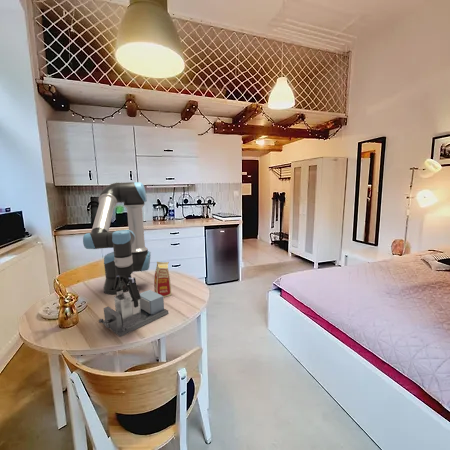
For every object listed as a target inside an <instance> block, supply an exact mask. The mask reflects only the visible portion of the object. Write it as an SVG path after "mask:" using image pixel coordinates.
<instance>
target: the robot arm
mask: <svg viewBox="0 0 450 450" xmlns="http://www.w3.org/2000/svg"><path fill="white" fill-rule="evenodd" d="M147 201H148V198H147V192H146V188H145V185H144V184H143V182H140V181H139V182H138V181H137V182H136V181H134V182H133V181H132V182H129V181H127V182H114V183H110V184H109V185H107V186H106V187H105V188H104V189H103V190H102V191H101V192H100V194H99V196H98V207H97V210H96V214H95V217H94V221H93V225H92V228H91V230H90V231H91V232H87V233H85V234H84V235H83V237H82V243H83V246H84V248H85V249H86V250H99V249H113V251H111V252H108V253H107V254H105V255H104V256H103V265H104V272H105V273H104V276H105V281H104V285H103V292H104V294H107V295H116V296H117V295H120V294H123V293H125V292H128V291H129V293H130V295H131V298H132V300H131V302H132V313H133V315H134V314H136V313H138V312H139V306H138V300H139V299H141V297H140V293H141V292H140V291H139V288H138V285H137V281H136V280H137V279H136V277H132V274H133V273H135V272H145V271H148V270H149V269H150V266H151V251H149V249H148V247H146V244H145V243H146V242H145V241H146V240H145V233H144V232H145V231H144V217H143V214H144V213H143V207H144V206H145V203H146V202H147ZM118 203H123V206H124V207H125V208H126V210H127V211H126V214H127V224H128V225H127V228H128V229H121V230H116V231H110V226H111V222H112V217H113V213H114V210H115V209H114V208H115V206H116V205H117V204H118Z"/></svg>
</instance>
